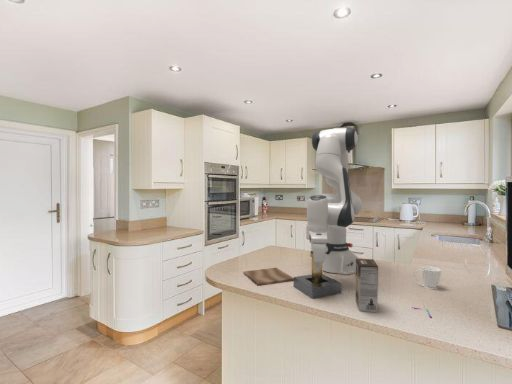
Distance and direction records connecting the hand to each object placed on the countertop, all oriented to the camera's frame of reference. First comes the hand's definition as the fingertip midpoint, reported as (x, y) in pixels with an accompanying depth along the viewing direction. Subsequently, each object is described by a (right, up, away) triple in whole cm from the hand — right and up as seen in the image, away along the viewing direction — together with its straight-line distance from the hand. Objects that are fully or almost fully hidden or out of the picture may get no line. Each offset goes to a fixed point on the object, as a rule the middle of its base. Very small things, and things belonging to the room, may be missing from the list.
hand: (317, 267), depth 116 cm
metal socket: (0, -9, 0) cm, 9 cm away
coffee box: (+14, -10, -16) cm, 23 cm away
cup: (+48, -10, +4) cm, 49 cm away
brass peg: (0, -6, 0) cm, 6 cm away
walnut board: (-20, -9, +16) cm, 27 cm away
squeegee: (+33, -10, -16) cm, 38 cm away
